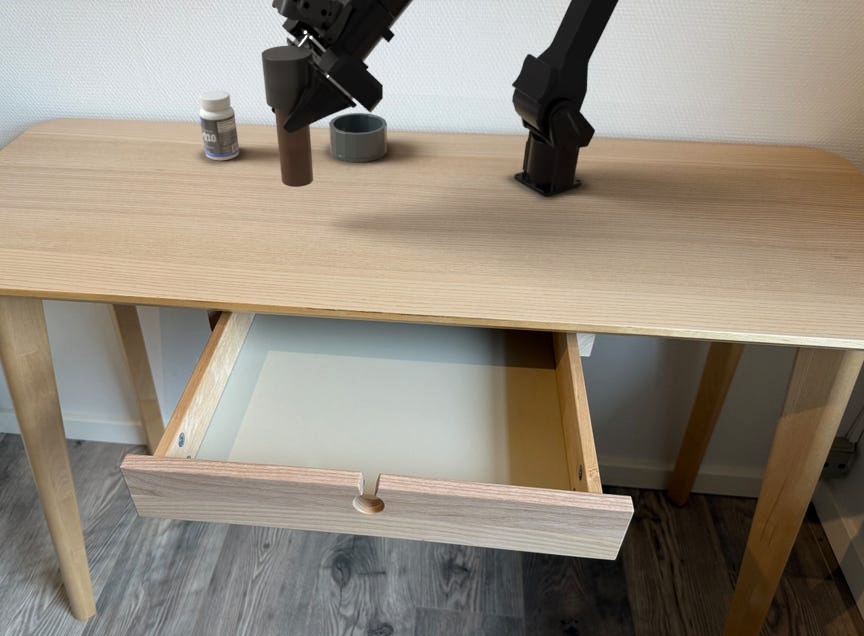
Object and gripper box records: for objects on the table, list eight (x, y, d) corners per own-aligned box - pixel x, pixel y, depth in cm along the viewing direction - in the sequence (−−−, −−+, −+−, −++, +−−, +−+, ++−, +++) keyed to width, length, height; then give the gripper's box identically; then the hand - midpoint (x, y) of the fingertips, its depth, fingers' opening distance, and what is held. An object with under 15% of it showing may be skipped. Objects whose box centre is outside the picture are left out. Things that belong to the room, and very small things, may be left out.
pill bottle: (199, 153, 101) (189, 93, 96) (228, 145, 103) (220, 86, 98) (216, 164, 98) (207, 103, 93) (246, 155, 101) (238, 95, 95)
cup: (397, 154, 101) (397, 126, 98) (348, 167, 98) (347, 138, 95) (368, 135, 106) (367, 109, 104) (320, 147, 103) (319, 119, 100)
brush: (328, 183, 81) (321, 55, 72) (287, 194, 79) (274, 63, 70) (307, 167, 85) (298, 42, 76) (267, 177, 83) (253, 50, 74)
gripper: (293, -73, 75) (205, 48, 79) (348, -41, 61) (237, 104, 65) (366, 2, 82) (281, 110, 86) (429, 46, 68) (324, 172, 72)
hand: (280, 121), depth 77 cm, fingers closed on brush, 5 cm apart
